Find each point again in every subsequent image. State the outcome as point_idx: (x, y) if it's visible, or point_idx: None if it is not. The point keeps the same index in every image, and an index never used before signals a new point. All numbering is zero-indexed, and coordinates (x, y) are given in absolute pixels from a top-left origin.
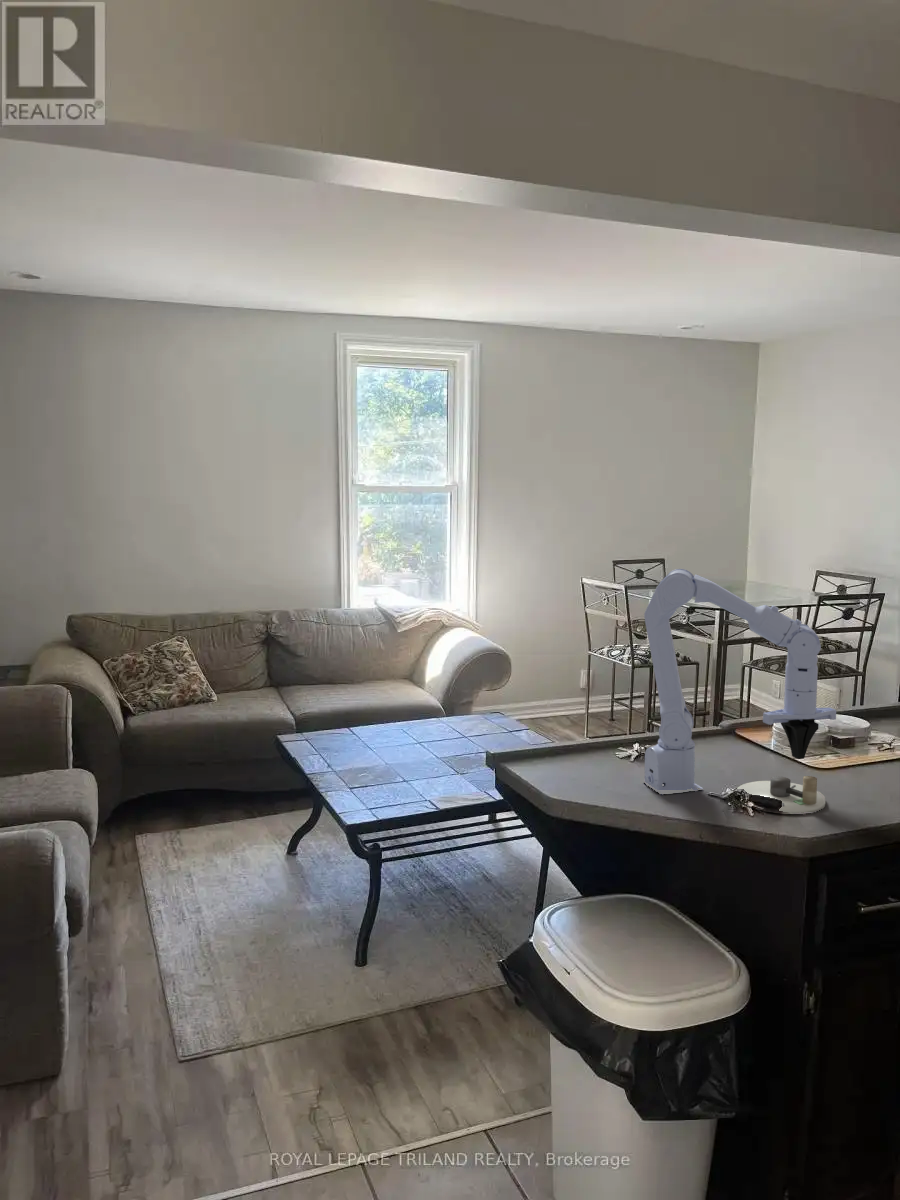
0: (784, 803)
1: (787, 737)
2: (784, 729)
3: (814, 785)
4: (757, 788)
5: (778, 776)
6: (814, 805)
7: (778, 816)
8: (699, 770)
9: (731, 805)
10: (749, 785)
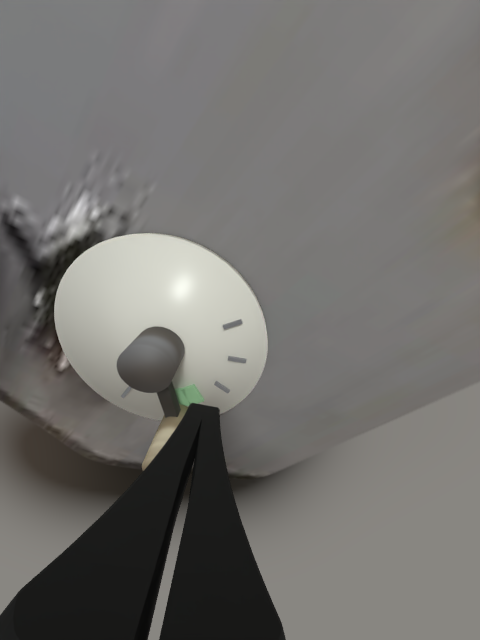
0: None
1: (138, 477)
2: (81, 541)
3: None
4: (133, 287)
5: (156, 351)
6: None
7: None
8: None
9: (40, 310)
10: (124, 256)
